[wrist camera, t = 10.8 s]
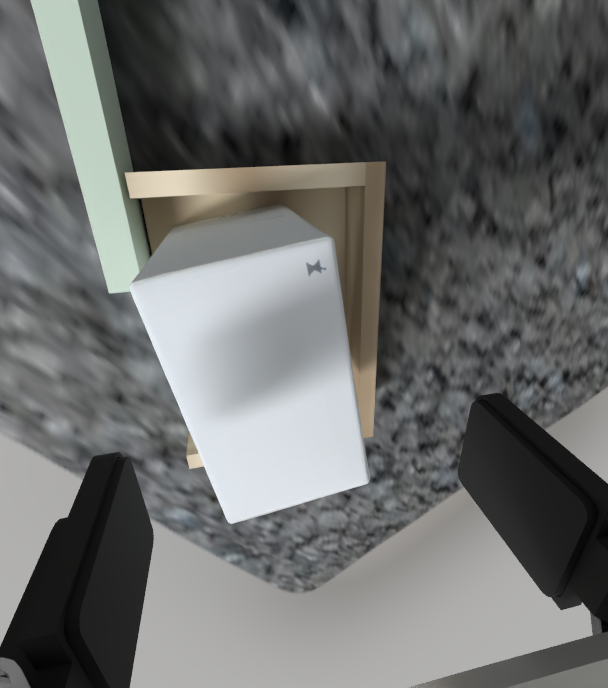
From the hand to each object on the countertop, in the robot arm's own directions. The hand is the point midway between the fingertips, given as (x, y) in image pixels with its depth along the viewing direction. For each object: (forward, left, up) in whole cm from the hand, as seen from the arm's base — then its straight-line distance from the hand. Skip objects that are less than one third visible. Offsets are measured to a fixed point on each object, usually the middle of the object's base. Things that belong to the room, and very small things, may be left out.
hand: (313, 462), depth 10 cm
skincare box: (+1, 0, -14) cm, 14 cm away
